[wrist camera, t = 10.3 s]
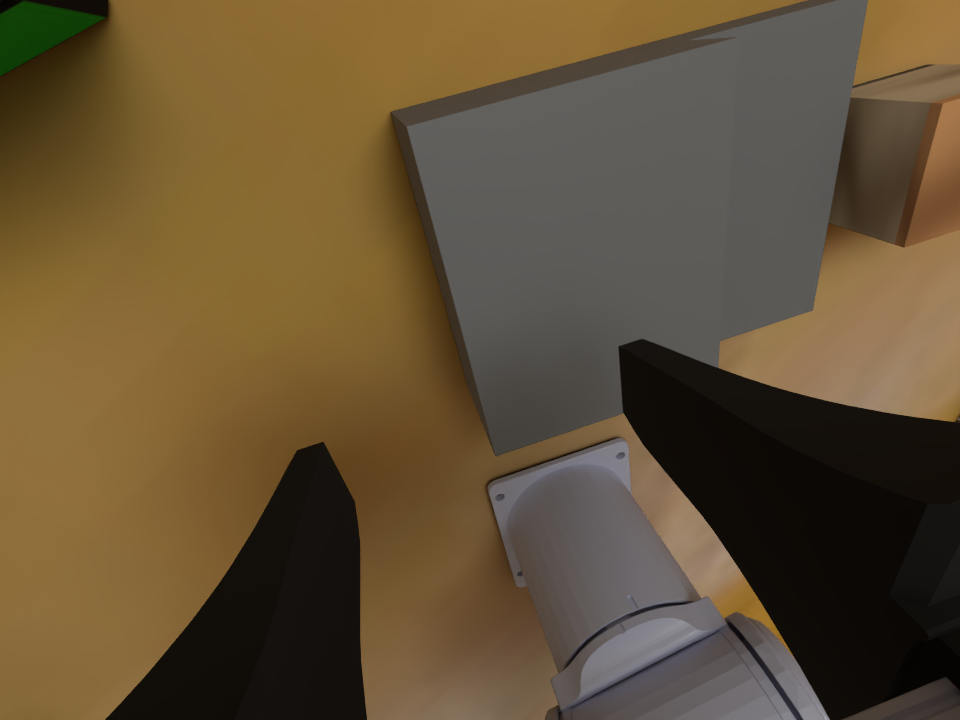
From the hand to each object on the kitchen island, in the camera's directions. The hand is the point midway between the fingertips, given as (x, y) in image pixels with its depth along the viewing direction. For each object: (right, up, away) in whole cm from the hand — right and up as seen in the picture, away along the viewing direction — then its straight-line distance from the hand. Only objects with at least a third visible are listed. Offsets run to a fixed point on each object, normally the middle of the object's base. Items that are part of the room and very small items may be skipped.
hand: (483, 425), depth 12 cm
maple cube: (+18, +9, +6) cm, 21 cm away
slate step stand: (+6, +8, +9) cm, 13 cm away
